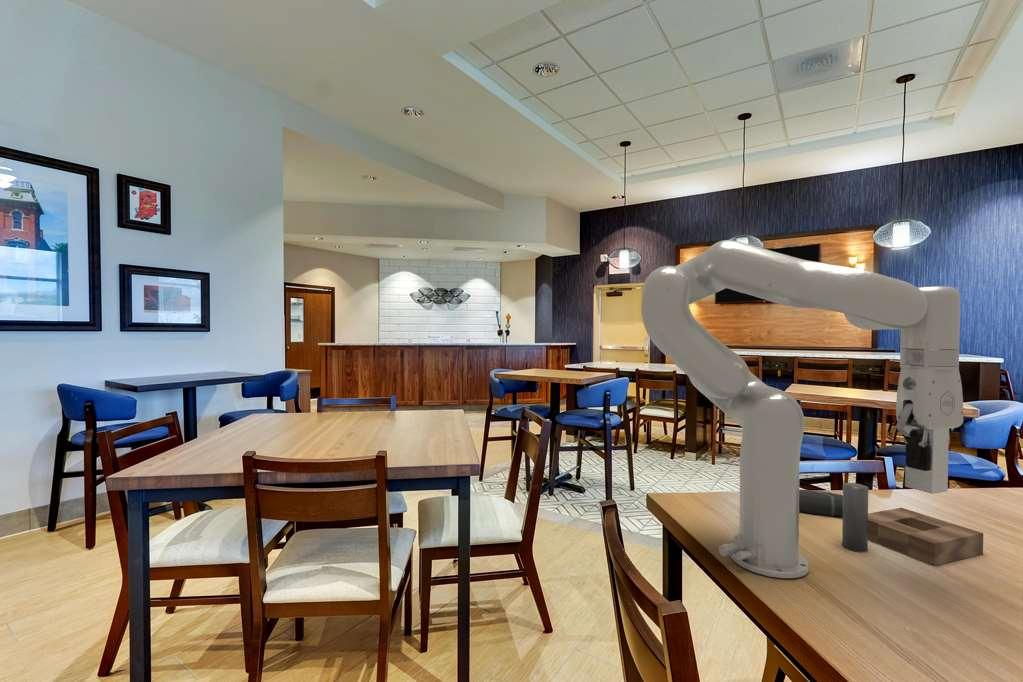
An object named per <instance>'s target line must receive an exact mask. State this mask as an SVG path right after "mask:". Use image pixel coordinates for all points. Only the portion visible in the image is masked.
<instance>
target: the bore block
mask: <svg viewBox="0 0 1023 682" xmlns="http://www.w3.org/2000/svg"><path fill="white" fill-rule="evenodd" d="M868 541H870V542H871V543H875V544H877V545H879V546H882V547H886V548H888V549H890V550H893V551H895V552H898V553H901V554H903V555H906V556H909V557H911V558H914V559H916V560H919V561H921V562H923V563H926V564H929V565H931V566H934V567H937V566H940V565H945V564H949V563H953V562H957V561H961V560H964V559H969V558H972V557H977V556H981V555H983V554H984V532H981V531H979V530H975V529H971V528H968V527H965V526H962V525H958V524H955V523H952V522H949V521H946V520H942V519H939V518H936V517H933V516H929V515H926V514H923V513H920V512H916V511H913V510H910V509H906V508H904V507H897V508H891V509H886V510H880V511H879V510H878V511H873V512H868Z"/></svg>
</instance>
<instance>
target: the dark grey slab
mask: <svg viewBox="0 0 1023 682" xmlns="http://www.w3.org/2000/svg"><path fill="white" fill-rule="evenodd" d="M799 512H800V513H807V514H812V515H819V514H820V516H827V515H828V517H829V516H830V517H839V516H840V517H842V518H843V494H839V493H833V492H829V491H825V490H824V491H821V490H812V489H811V490H810V489H799ZM840 517H839V518H840Z"/></svg>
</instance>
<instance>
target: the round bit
mask: <svg viewBox="0 0 1023 682" xmlns="http://www.w3.org/2000/svg"><path fill="white" fill-rule="evenodd" d="M842 496H843V517H842V525H841V526H842V527H841V528H842V532H841V533H842V536H841V537H842V540H841V542H842V543H841V544H842V547H843V548H845V549H846V550H850V551H853V552H857V553H867V552H868V549H869V548H868V546H869V545H868V544H869V540H868V513H869V486H868V485H867V486H866V485H863V484H861V483H855V482H844V483H842Z"/></svg>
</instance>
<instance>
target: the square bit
mask: <svg viewBox="0 0 1023 682" xmlns="http://www.w3.org/2000/svg"><path fill="white" fill-rule="evenodd" d="M913 426H918V427H922V425H919V424H918V423H915V422H913ZM913 431H916V432H917V433H918V435H919V436H920V431H919V430H913ZM949 445H950V443H949V428H947V429H935V430H930V429H929V431H928V438H927V445H926V447H930V448H929V470H928V471H922V470H918V469H914V468H910V467H907V466H906V464H904V465H905V466H904V467H905V469H904V471H905V473H904V476H905V477H904V487H906V488H909V489H913V490H916V491H919V492H920V491H921V492H924V493H927V494H932V495H934V494H940V493H946V492H948V489H949V487H948V481H949V480H948V479H949V448H950V447H949Z"/></svg>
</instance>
